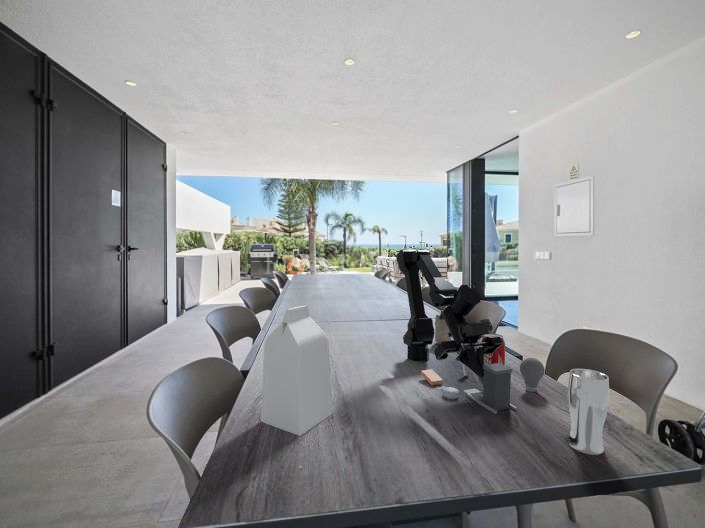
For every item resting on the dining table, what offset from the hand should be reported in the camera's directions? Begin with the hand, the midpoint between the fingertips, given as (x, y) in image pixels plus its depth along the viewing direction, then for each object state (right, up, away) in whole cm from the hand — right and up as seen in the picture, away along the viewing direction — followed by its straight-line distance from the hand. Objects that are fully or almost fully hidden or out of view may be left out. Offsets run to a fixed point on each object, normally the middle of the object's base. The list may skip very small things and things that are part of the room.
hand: (483, 377), depth 94 cm
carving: (+3, -3, +54) cm, 54 cm away
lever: (+1, -4, +15) cm, 16 cm away
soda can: (+10, -5, +21) cm, 24 cm away
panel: (-3, -6, +6) cm, 9 cm away
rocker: (-11, -4, +11) cm, 16 cm away
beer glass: (+14, -8, -19) cm, 25 cm away
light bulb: (+15, -7, +6) cm, 17 cm away
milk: (-46, -7, -8) cm, 47 cm away
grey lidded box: (+2, -6, -4) cm, 7 cm away
